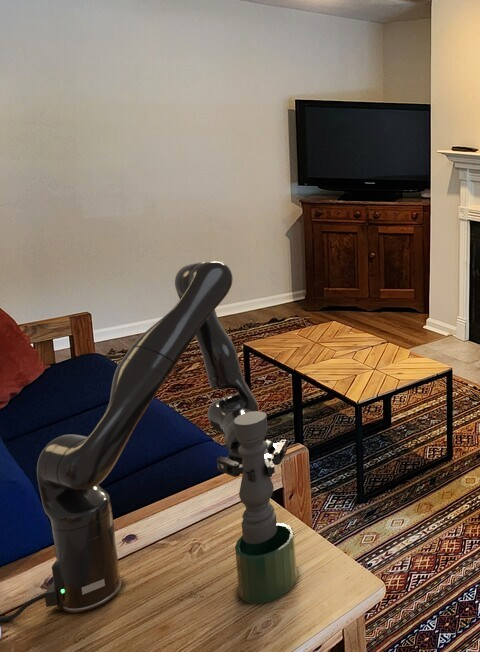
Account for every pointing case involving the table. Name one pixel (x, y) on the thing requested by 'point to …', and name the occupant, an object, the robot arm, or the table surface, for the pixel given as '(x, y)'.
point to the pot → (266, 566)
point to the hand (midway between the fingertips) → (261, 475)
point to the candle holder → (256, 494)
